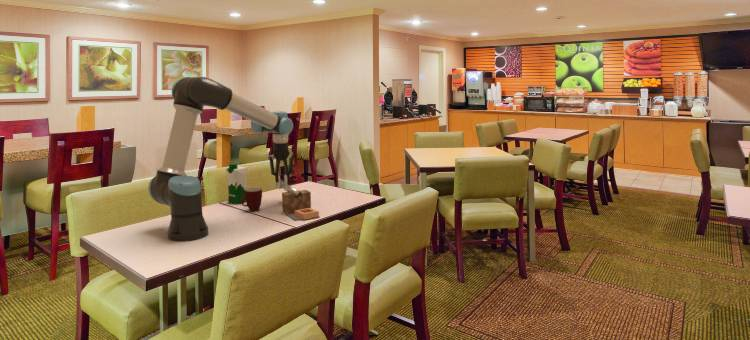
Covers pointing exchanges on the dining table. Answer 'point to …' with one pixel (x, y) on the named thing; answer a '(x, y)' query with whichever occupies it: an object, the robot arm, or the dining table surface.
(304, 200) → the cradle block
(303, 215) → the frame
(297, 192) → the shaft
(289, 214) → the mat
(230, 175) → the milk carton
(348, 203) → the dining table surface
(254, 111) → the robot arm
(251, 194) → the mug
